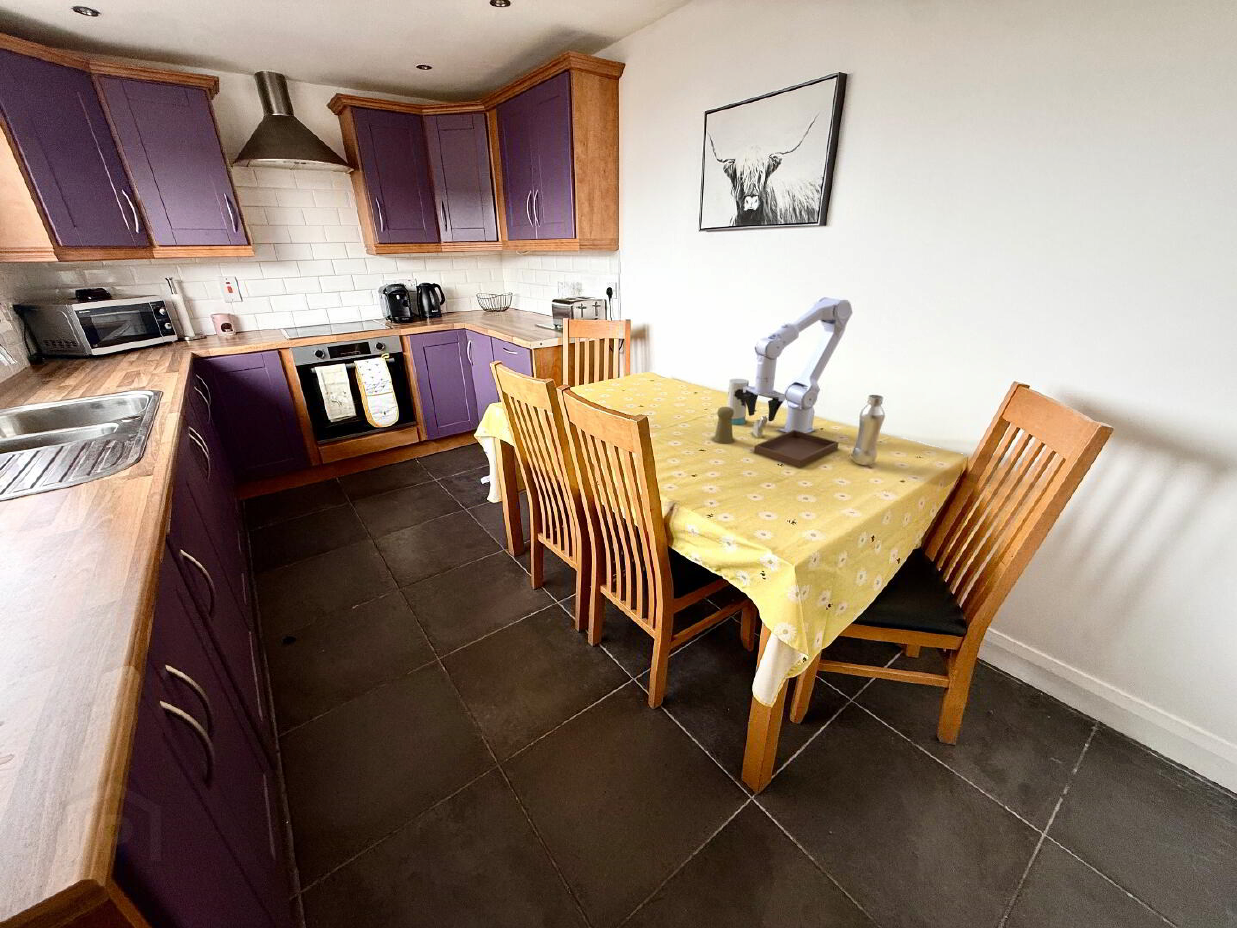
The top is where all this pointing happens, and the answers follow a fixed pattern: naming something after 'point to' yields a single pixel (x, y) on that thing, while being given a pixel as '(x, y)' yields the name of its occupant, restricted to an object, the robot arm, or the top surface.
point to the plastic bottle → (869, 431)
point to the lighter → (759, 426)
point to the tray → (796, 448)
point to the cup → (737, 400)
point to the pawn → (724, 425)
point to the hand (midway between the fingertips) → (761, 417)
